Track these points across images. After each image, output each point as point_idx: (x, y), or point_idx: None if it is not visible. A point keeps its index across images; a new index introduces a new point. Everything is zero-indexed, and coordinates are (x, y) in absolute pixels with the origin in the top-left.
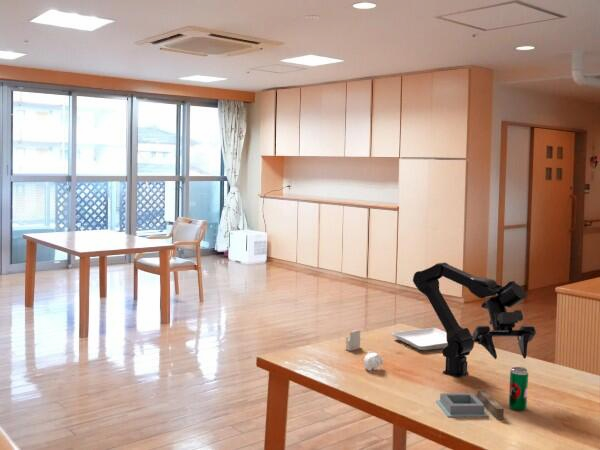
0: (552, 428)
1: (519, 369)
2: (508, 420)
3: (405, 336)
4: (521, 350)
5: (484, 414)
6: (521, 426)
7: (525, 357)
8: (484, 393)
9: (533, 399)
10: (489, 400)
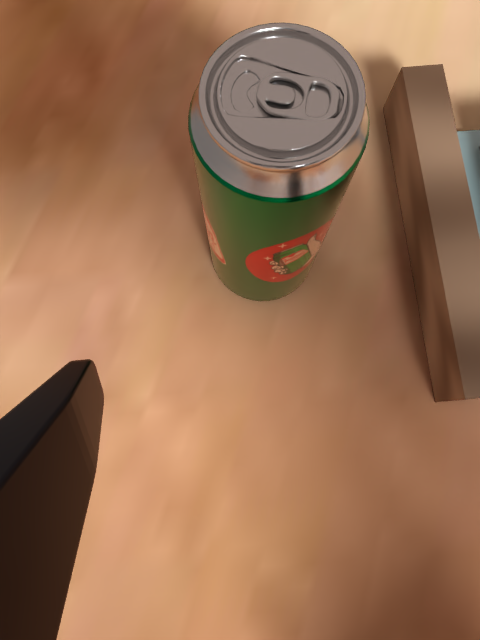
0: (172, 20)
1: (285, 85)
2: None
3: None
4: (59, 562)
5: (477, 139)
6: None
7: (84, 365)
8: (473, 311)
9: (108, 407)
10: (462, 187)
